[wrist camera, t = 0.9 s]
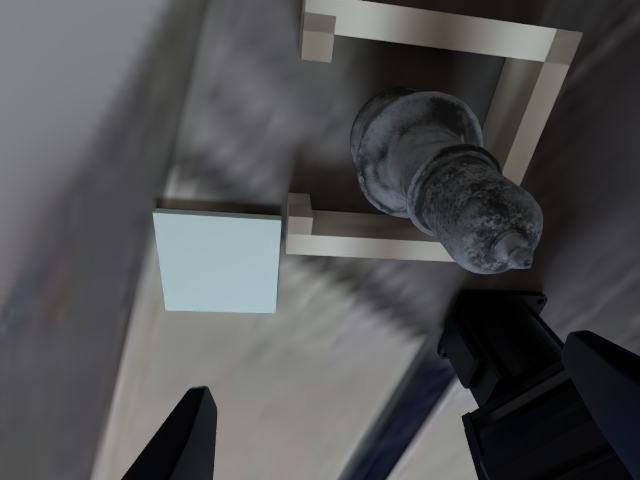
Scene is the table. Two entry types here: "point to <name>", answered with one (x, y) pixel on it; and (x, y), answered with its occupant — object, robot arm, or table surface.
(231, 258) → the pad
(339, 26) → the beige bracket
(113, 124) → the table surface
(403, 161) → the dark grey chess piece
